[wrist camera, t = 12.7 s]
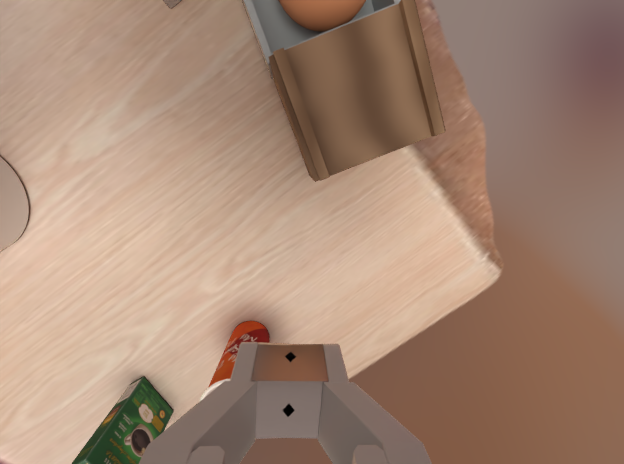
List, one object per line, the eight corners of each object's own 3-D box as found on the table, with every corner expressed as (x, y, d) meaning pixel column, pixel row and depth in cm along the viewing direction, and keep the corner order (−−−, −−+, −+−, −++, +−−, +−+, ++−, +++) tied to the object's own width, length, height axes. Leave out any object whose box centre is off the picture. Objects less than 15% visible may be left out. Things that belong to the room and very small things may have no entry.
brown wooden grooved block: (309, 175, 38) (315, 182, 29) (274, 80, 35) (267, 53, 26) (410, 135, 38) (449, 129, 28) (383, 36, 35) (418, -8, 25)
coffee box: (127, 381, 45) (62, 472, 32) (143, 373, 44) (84, 461, 32) (159, 417, 47) (110, 515, 34) (174, 410, 46) (131, 505, 34)
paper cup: (248, 304, 42) (228, 374, 29) (287, 335, 44) (284, 415, 31) (213, 339, 44) (178, 422, 30) (252, 367, 45) (235, 458, 32)
